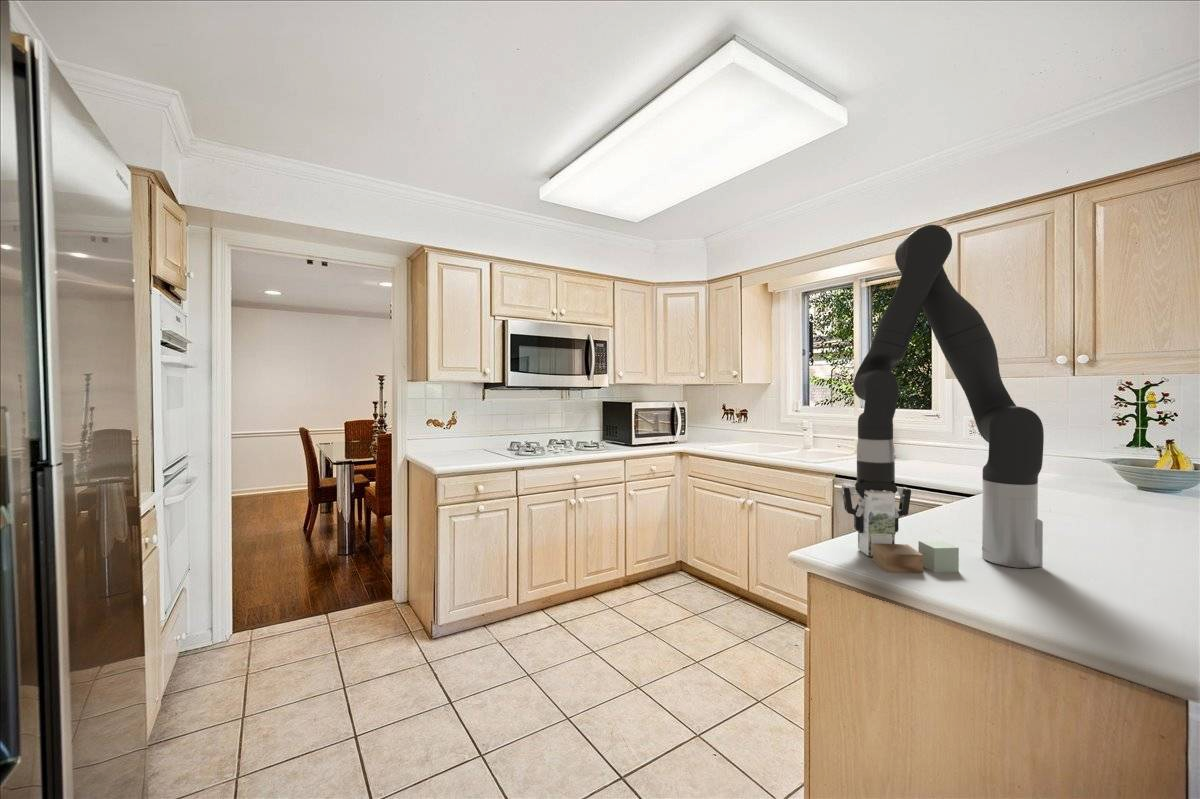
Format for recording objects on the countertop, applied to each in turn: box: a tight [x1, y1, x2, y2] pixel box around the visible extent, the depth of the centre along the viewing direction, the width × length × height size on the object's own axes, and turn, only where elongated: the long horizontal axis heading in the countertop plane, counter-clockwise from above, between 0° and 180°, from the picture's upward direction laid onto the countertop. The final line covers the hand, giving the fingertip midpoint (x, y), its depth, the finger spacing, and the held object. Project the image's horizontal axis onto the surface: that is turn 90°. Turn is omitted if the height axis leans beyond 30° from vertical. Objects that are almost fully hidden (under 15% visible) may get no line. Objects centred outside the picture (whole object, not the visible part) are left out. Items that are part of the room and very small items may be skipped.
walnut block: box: [872, 543, 924, 574], centre depth 107 cm, size 7×7×4 cm
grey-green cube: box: [918, 540, 960, 573], centre depth 106 cm, size 5×5×5 cm
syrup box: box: [857, 490, 896, 557], centre depth 115 cm, size 6×6×14 cm
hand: (875, 532), depth 115 cm, fingers closed on syrup box, 6 cm apart
